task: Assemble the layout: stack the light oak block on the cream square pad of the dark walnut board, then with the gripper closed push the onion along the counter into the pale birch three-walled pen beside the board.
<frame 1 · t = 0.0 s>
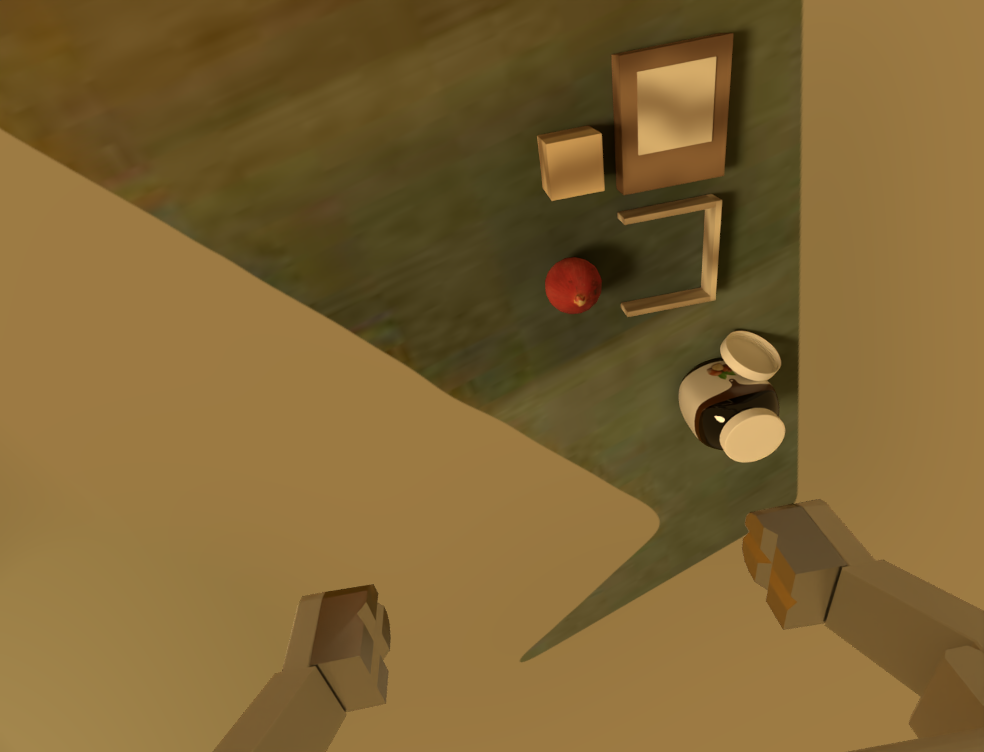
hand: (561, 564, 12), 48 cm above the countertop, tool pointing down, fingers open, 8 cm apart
layout: (664, 189, 56), on the countertop
oak block: (564, 157, 53), on the countertop
onion: (565, 271, 60), on the countertop
spread jar: (715, 368, 69), on the countertop
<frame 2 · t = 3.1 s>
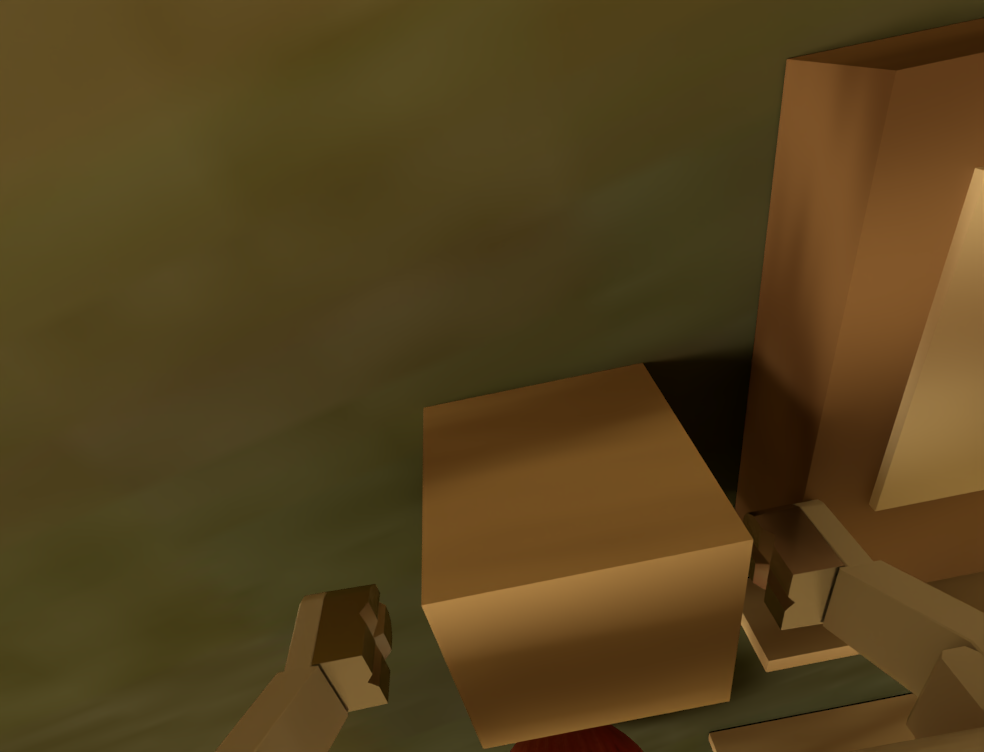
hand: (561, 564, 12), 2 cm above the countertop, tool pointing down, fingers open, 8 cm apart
layout: (895, 521, 16), on the countertop
oak block: (545, 463, 14), on the countertop
onion: (556, 698, 20), on the countertop
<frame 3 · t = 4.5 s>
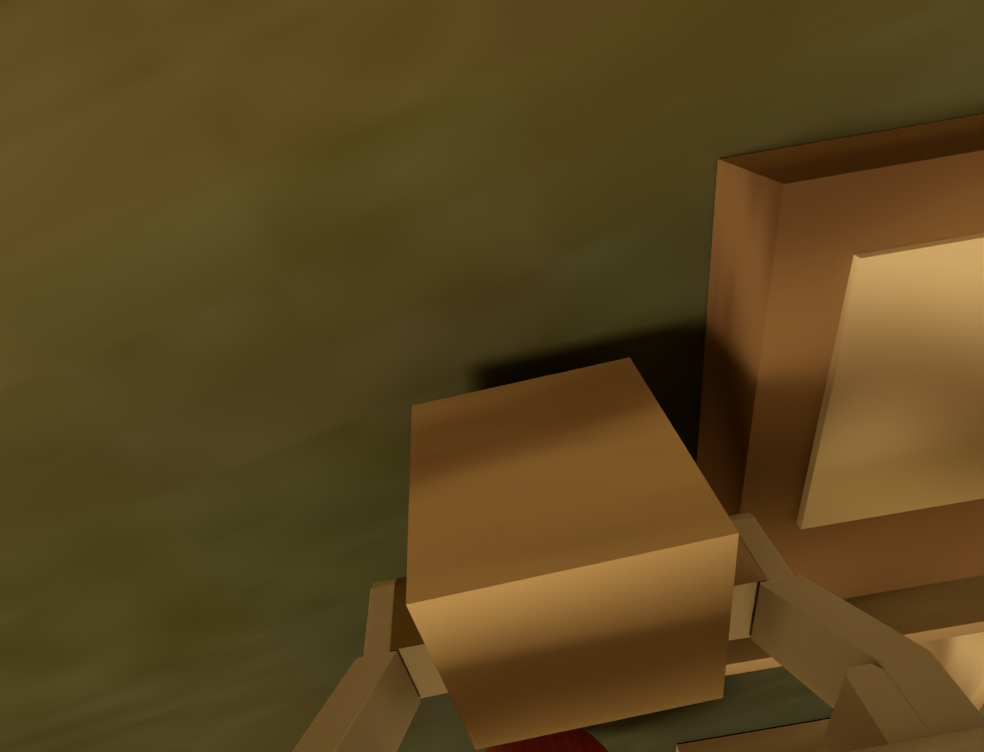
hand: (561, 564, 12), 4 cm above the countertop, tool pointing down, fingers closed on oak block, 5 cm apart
layout: (837, 544, 18), on the countertop
oak block: (536, 462, 13), point 1 cm above the countertop, touching gripper
onion: (532, 703, 22), on the countertop
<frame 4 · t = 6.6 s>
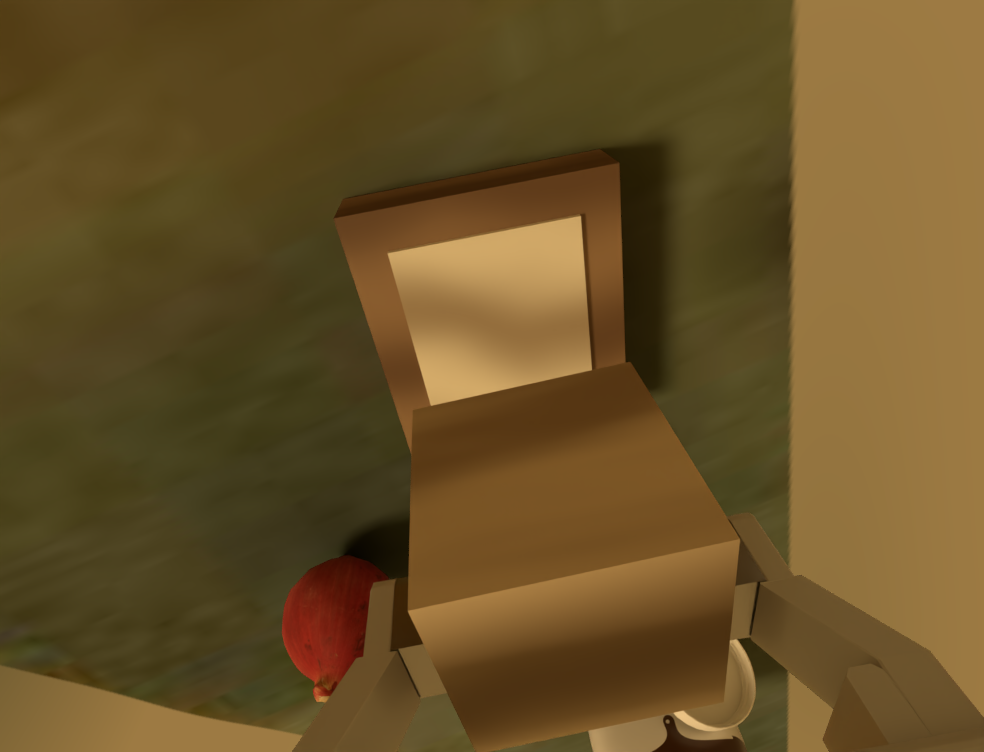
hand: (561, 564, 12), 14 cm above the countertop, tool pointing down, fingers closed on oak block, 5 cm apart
layout: (517, 432, 28), on the countertop
oak block: (537, 465, 13), point 12 cm above the countertop, touching gripper
onion: (350, 555, 32), on the countertop
spread jar: (649, 652, 41), on the countertop
when the fingers open (6 cm above the countertop, at t = 8.4 s): oak block stays where it is, resting on layout.
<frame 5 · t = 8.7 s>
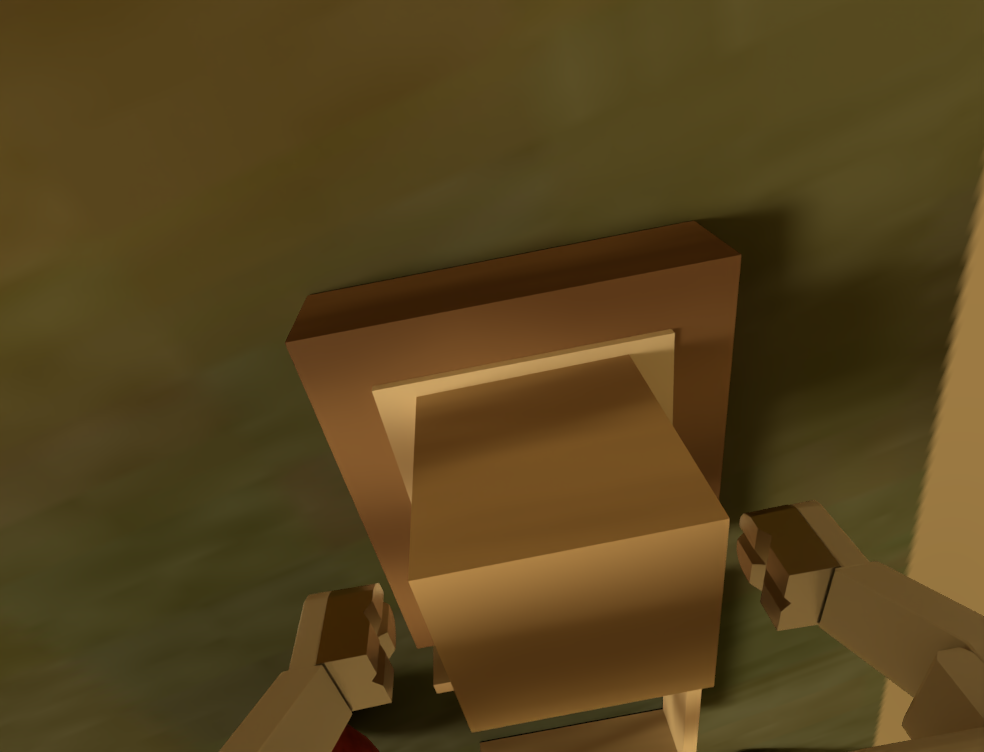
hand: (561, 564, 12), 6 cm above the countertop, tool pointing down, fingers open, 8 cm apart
layout: (552, 576, 21), on the countertop
oak block: (536, 456, 14), point 3 cm above the countertop, touching layout
onion: (332, 711, 25), on the countertop
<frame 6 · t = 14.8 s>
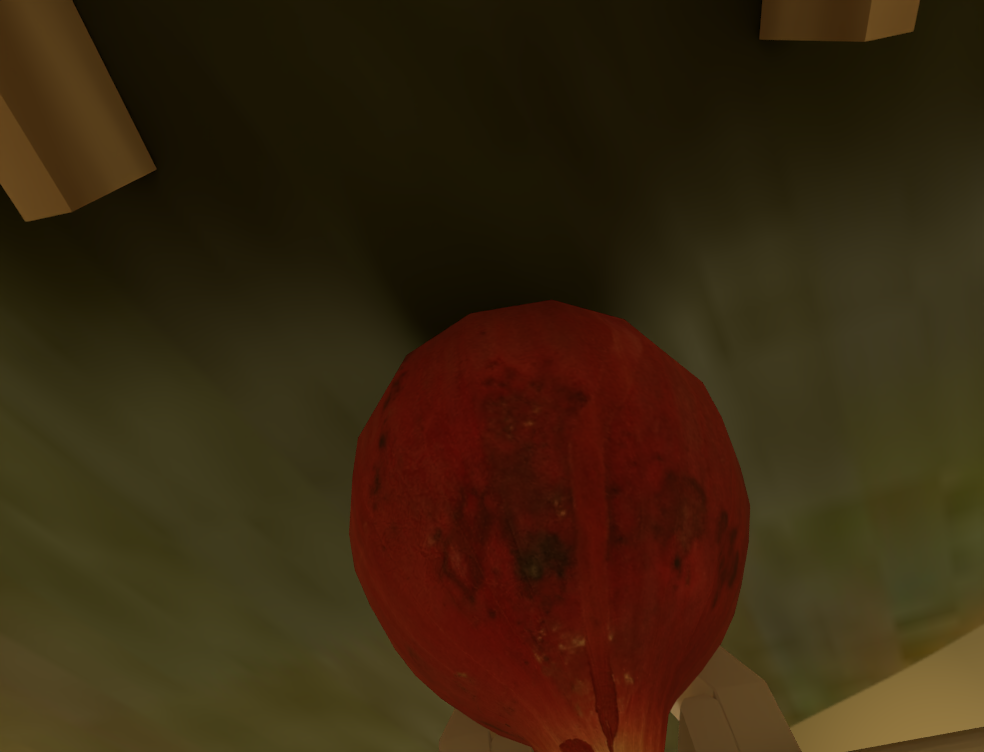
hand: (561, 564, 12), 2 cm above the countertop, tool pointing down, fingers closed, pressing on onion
onion: (510, 369, 12), on the countertop, touching gripper
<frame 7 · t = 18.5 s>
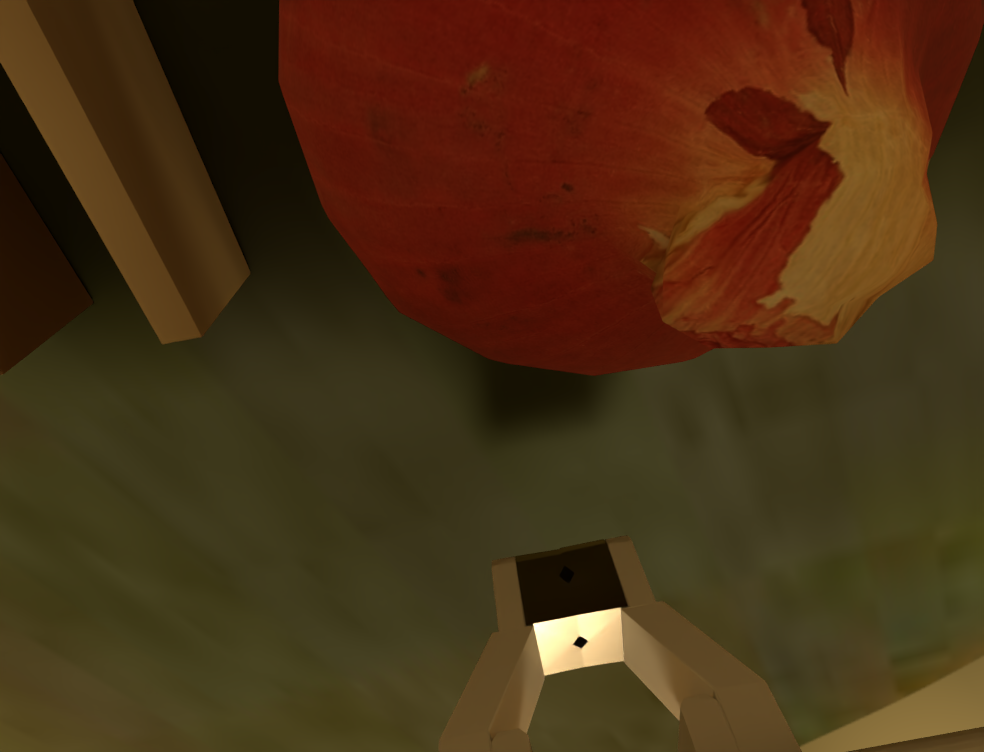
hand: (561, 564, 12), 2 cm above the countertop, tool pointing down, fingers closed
onion: (524, 52, 9), on the countertop
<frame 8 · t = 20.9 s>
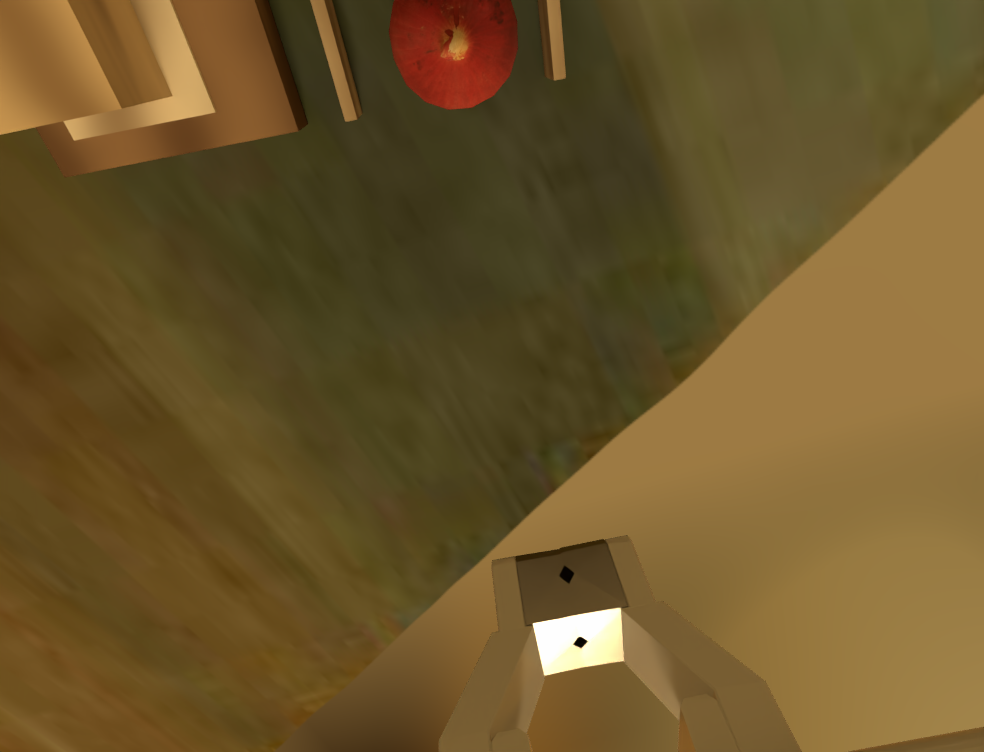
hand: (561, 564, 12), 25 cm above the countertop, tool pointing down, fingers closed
layout: (292, 9, 26), on the countertop
oak block: (90, 46, 24), point 3 cm above the countertop, touching layout
onion: (453, 35, 28), on the countertop
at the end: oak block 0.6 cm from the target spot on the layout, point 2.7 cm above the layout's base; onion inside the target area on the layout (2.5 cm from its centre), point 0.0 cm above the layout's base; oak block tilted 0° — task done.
